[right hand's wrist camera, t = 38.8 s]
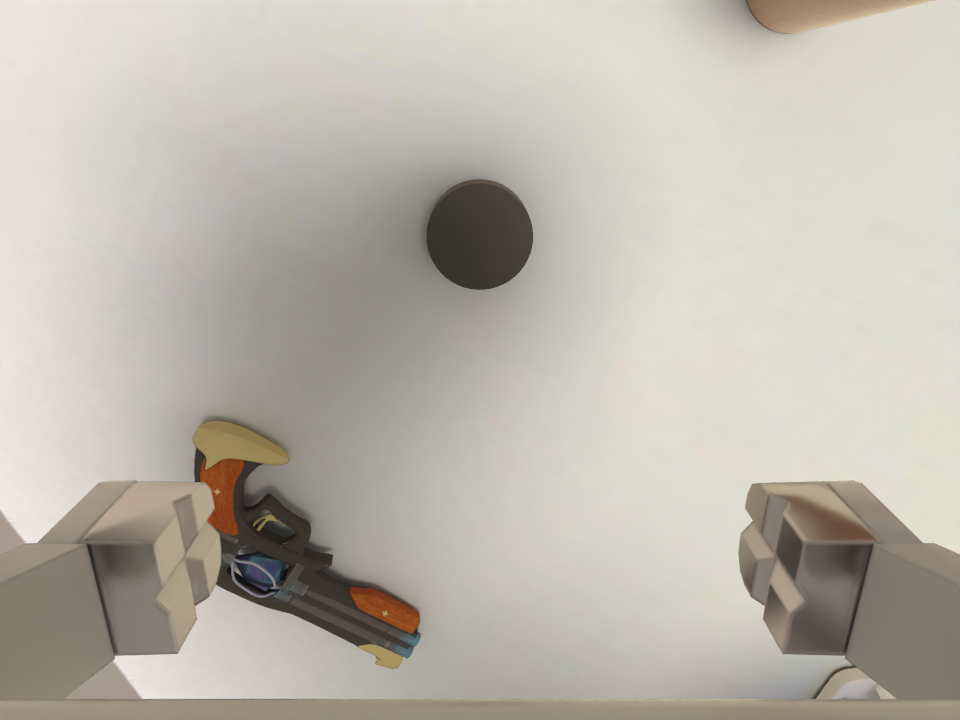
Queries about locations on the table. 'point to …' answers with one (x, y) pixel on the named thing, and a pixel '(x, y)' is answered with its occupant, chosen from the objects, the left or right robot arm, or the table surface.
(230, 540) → the toy gun
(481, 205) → the lid
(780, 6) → the jar
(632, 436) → the table surface
